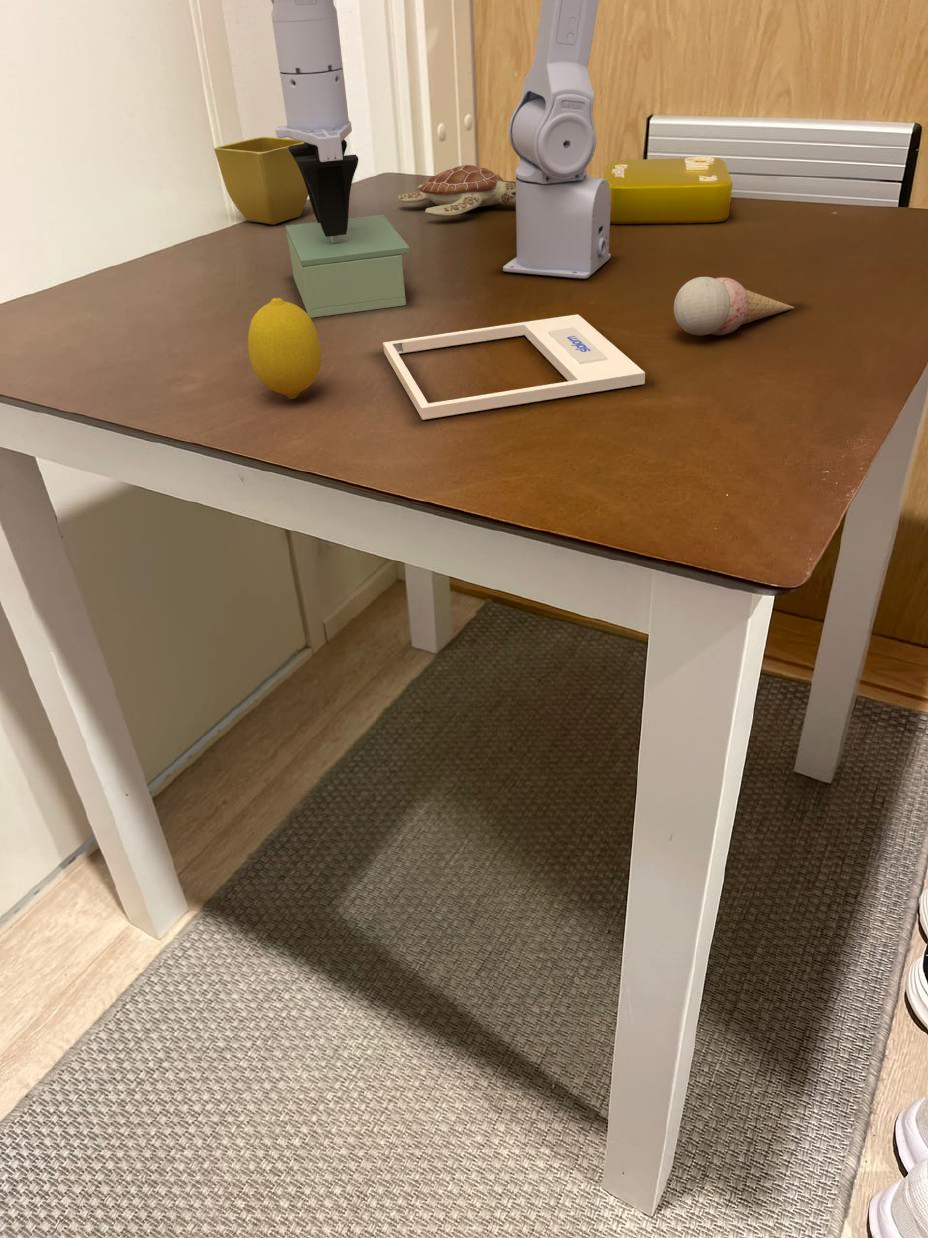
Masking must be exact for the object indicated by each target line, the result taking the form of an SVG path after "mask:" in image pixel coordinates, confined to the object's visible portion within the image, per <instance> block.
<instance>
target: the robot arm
mask: <svg viewBox="0 0 928 1238" xmlns="http://www.w3.org/2000/svg"><path fill="white" fill-rule="evenodd" d="M270 2H271V5H272V10H271V13H270V14H271V21H272V29H273V30H272V31H273V36H274V42H275V50H276V57H277V65H278V70H279V76H280V84H281V90H282V97H283V103H284V104H283V105H284V112H285V118H286V125H280V126H275V127H274V132H275V136H276V138H285V139H286V138H288V139H295V140H298V141H302V142H304V144H299V145H292V146H289V147H288V150H289V151H290V153H291V154H292V156H293V158H294V159H295V161H296V163H297V165H298V167H299V169H300V172H301V174H302V177H303V179H304V182H305V185H306V188H307V192H308V198H309V202H310V205H311V208H312V212H313V214H314V217H315V220H316V222H318V223H320V224H321V227H322V230H323V232H324V234H325V236H326V237H330V236H338V235H346V233H347V226H348V218H349V213H350V211H349V209H350V196H351V189H352V184H353V179H354V176H355V174H356V171H357V168H358V165H359V157H358V156H357V154H346V150H347V147H348V143H347V141H346V138H347V137H348V136H349V135H350V134H351V133H352V131H353V127H352V122H351V121H350V119H349V118H350V117H349V111H348V101H347V92H346V91H347V90H346V84H345V73H344V66H343V57H342V47H341V46H342V45H341V38H340V30H339V29H340V28H339V19H338V11H337V8H336V6H335V2H334V0H270ZM599 3H600V0H541V6H540V15H539V21H538V28H537V37H536V42H535V43H536V44H535V49H534V50H535V51H534V59H533V62H532V65H530V68H529V70H528V72H527V74H526V76H525V78H524V79H523V85H522V91H521V97H520V100H519V102H518V104H517V106H516V108H515V109H514V111H513V112H512V115H511V116H510V120H509V124H508V139H509V143H510V146H511V148H512V150H513V151H514V153H515V155H516V156H518V157H519V161H518V165H517V167H516V169H515V184H516V204H515V216H516V217H515V225H516V226H515V227H516V229H515V232H516V233H515V234H516V236H515V237H516V239H515V240H516V257H514V258H513V259H511V260H510V261H508V262H507V263H506V264H505V265H503V266H502V271H503V272H506V273H516V274H525V275H526V274H527V275H538V276H548V277H549V276H550V277H559V278H570V279H571V278H572V279H583V280H585V279H588V278H590V277H591V276H592V275H593V274H594V273H595V272H596V271H597V270H599V269H600V268H601V267H602V266H603V265H604V264H606V263H607V262H608V261H609V260H610V259H611V253H610V231H611V230H610V228H611V224H610V208H611V194H610V187H609V183H608V181H607V180H605V179H604V178H600V177H593V176H590V175H589V174H588V166H589V164H590V162H592V159H593V157H594V155H595V153H596V148H597V131H596V128H595V124H594V123H595V122H594V118H593V112H594V111H593V110H594V102H595V93H594V92H595V91H594V89H593V85H592V81H591V78H590V73H589V65H590V57H591V51H592V45H593V39H594V33H595V26H596V20H597V15H598V7H599ZM345 154H346V155H345Z"/></svg>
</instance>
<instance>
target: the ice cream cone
mask: <svg viewBox="0 0 928 1238" xmlns="http://www.w3.org/2000/svg"><path fill="white" fill-rule="evenodd" d="M673 302H674V303H673V315H674V318H675V321H676V323H677V325H678V326H679V327H680V328H681V329H682V330H683V331H684V332H686V333H688V334H690V335H694V336H707V335H712V336H725V335H728V334H731V333H733V332H734V331H736V330H738V328H740V327H741V326H742V325H744V324H748V323H752V322H755V321H758V320H760V319H764V318H766V317H771V316H775V315H777V314H780V313H784V312H787V311H790V310H793V309H796V307H794V306H792V305H790V304H786V303H784V302H781V301H778V300H775V299H773V298H770V297H767V296H764V295H763V294H759V293H756V292H753V291H751V290H748V289H746V288H745V287H744V286H743V285H742V284H741V283H740V282H738V281H737V280H735V279H733V278H730V277H716V278H713V277H711V276H699V277H695V278H691V280H689V281H687V282H685V284H684V285H682V287H680V289H679V290H678V291H677V293H676V296H675V299H674V301H673Z"/></svg>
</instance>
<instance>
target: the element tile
mask: <svg viewBox="0 0 928 1238" xmlns="http://www.w3.org/2000/svg"><path fill="white" fill-rule="evenodd" d="M726 164H727V163H726V162H725V161H724V160H723V159H721V158H720V157H711V156H690V157H685V158H649V159H647V158H646V159H644V158H643V159H642V158H641V159H613V160H610V161H608V162H607V163H605V165H604V170H603V179H605V180H607V181H608V183H609V187H610V194H611V208H610V225H612V224H613V225H662V224H664V225H665V224H668V225H669V224H671V225H672V224H673V225H674V224H676V225H677V224H716V223H722V222H725V221H727V220H728V218H729V216H730V208H731V200H732V194H733V193H732V191H733V180H732V177H731V175H730V172H729V170H728V167H727V165H726Z"/></svg>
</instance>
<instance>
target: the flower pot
mask: <svg viewBox="0 0 928 1238" xmlns="http://www.w3.org/2000/svg"><path fill="white" fill-rule="evenodd" d="M299 144H304V142H302V141H298V140H295V139H291V138H286V137H285V138H278V137H273V136H259V137H254V138H249V139H245V140H241V141H237V142H233V143H229V144H224V145H220V146H217V147H214V148H213V150H214V154H215V156H216V160H217V162H218V167H219V170H220V174H221V176H222V180H223V183H224V186H225V188H226V191H227V194H228V195H229V198H230V199H231V201H232V203H233V204H234V206H235V207H236V208H237V210H238V212H239V213H240V214H241V215H242V216H243V217H244V218H245V220H247V221H248V222H253V223H261V224H268V225H273V226H274V225H277V224H279V223H282V222H286V221H290V220H293V219H297V218H299V217H300V216H301V215H302V213H303V211H304V209H305V206H306V204H307V201H308V198H309V195H308V192H307V188H306V185H305V182H304V179H303V177H302V174H301V172H300V169H299V167H298V165H297V163H296V161H295V159H294V158H293V156H292V154H291V153H290V151H289V150H288V147H289V146H292V145H299Z"/></svg>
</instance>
